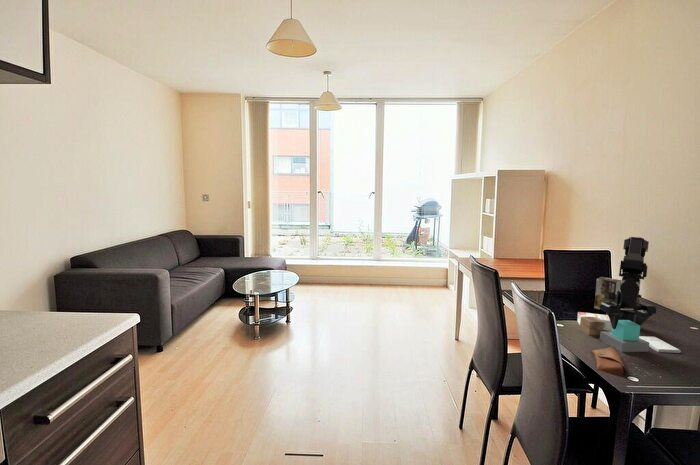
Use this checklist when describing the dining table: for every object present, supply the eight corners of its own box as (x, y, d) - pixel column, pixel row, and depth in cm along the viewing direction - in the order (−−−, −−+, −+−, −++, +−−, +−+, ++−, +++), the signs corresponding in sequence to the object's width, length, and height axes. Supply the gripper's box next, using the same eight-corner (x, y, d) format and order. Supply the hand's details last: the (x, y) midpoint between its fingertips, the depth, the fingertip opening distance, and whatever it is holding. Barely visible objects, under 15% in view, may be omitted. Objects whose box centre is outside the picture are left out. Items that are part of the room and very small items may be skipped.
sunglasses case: (588, 349, 140) (600, 337, 137) (606, 361, 138) (619, 349, 135) (596, 370, 124) (610, 356, 121) (617, 385, 121) (631, 371, 119)
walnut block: (592, 329, 160) (594, 316, 159) (602, 335, 154) (604, 321, 153) (579, 329, 160) (580, 316, 159) (588, 335, 154) (590, 321, 153)
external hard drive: (658, 353, 139) (634, 339, 151) (680, 354, 139) (655, 340, 151) (658, 349, 139) (635, 335, 151) (681, 350, 138) (656, 336, 151)
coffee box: (618, 310, 186) (622, 280, 184) (613, 313, 182) (617, 281, 180) (598, 305, 193) (602, 276, 191) (593, 308, 189) (596, 277, 187)
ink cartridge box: (577, 311, 169) (615, 315, 164) (576, 321, 170) (614, 326, 165) (582, 317, 161) (621, 321, 156) (581, 327, 162) (620, 332, 157)
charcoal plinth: (624, 340, 150) (625, 331, 150) (648, 352, 139) (649, 342, 139) (599, 340, 149) (600, 331, 149) (621, 353, 138) (622, 342, 138)
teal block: (627, 334, 146) (629, 320, 145) (638, 340, 140) (640, 325, 139) (612, 334, 146) (613, 319, 145) (622, 340, 140) (624, 325, 139)
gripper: (636, 285, 150) (631, 321, 152) (592, 284, 149) (588, 321, 151) (660, 293, 138) (654, 332, 140) (612, 292, 138) (607, 331, 140)
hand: (625, 328), depth 143 cm, fingers open, 9 cm apart
